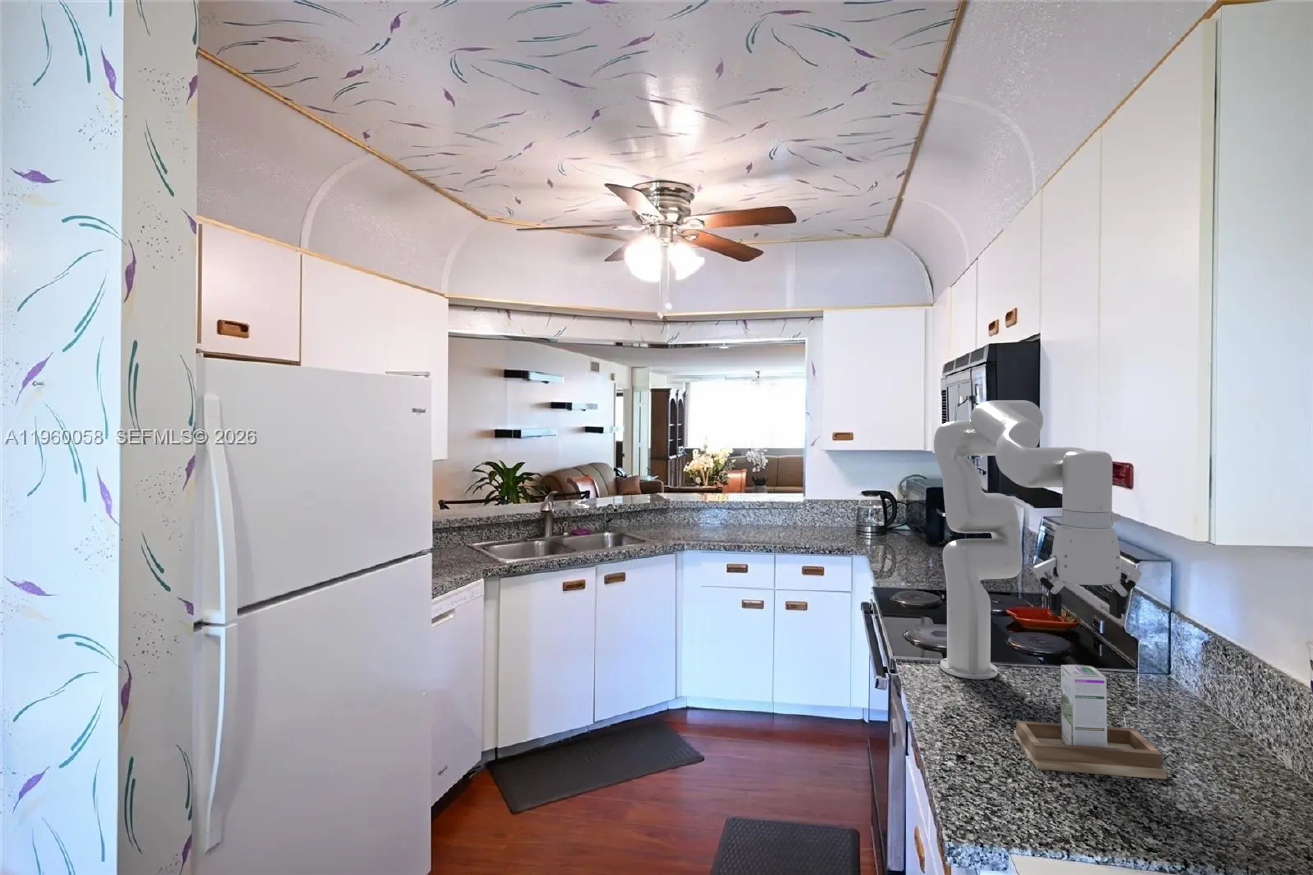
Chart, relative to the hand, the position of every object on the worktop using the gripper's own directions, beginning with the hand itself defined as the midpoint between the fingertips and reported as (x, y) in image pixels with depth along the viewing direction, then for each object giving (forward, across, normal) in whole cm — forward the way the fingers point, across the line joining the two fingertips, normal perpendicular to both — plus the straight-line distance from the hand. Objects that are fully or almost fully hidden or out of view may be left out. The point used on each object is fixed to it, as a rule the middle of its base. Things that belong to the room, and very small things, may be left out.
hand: (1085, 615), depth 124 cm
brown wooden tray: (+25, 0, 0) cm, 25 cm away
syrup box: (+25, 0, 0) cm, 25 cm away
